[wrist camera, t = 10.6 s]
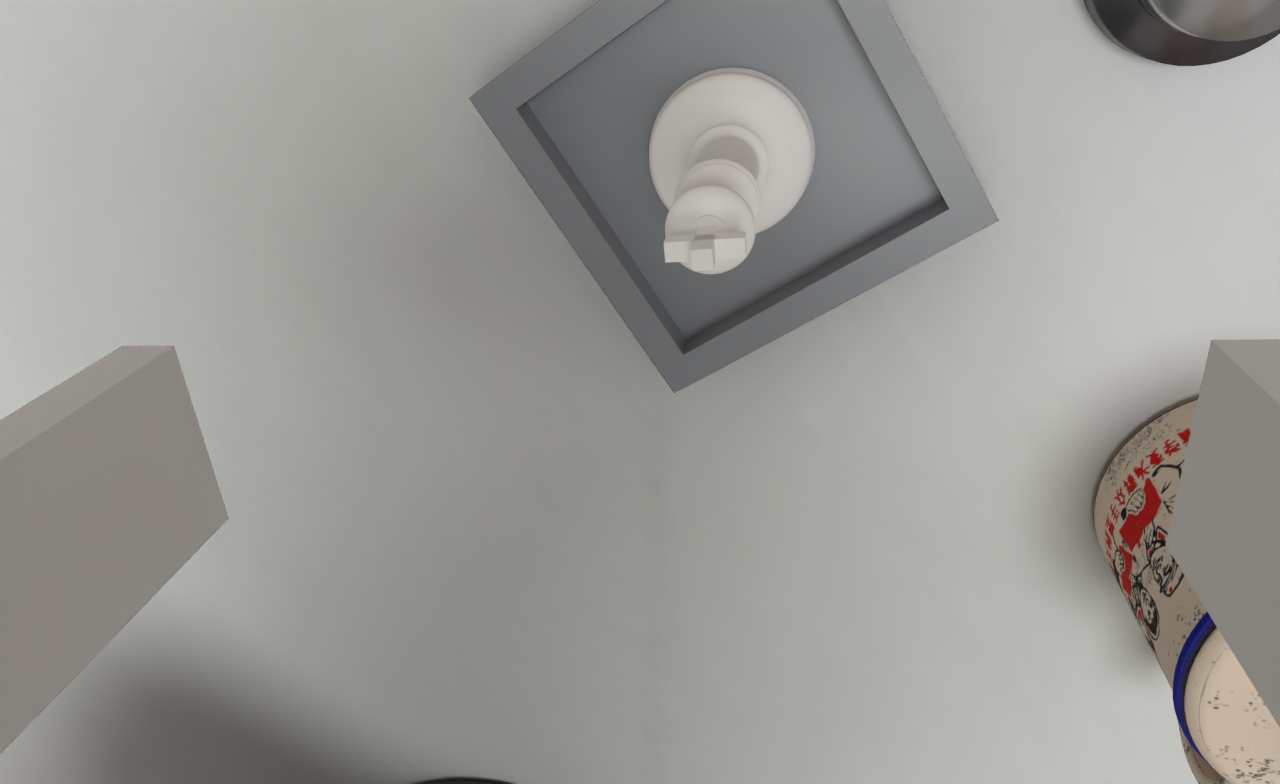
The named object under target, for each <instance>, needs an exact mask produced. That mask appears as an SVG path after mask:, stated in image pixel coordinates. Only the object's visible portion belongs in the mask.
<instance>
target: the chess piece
mask: <svg viewBox="0 0 1280 784" xmlns="http://www.w3.org/2000/svg"><path fill="white" fill-rule="evenodd" d="M814 160H815V140H814V134H813V129H812V126H811V123H810V120H809V117H808V115H807V113H806V111H805V109H804V108H803V106H802V104H801V103H800V101H799V100H798V99H797V98H796V96H795V95H794V94H793V93H792V92H791V91H790V90H789V89H788V88H787V87H786V86H784V85H783V84H782V83H780V82H779V81H778V80H776V79H774V78H773V77H771V76H769V75H767V74H764V73H761V72H759V71H755V70H751V69H746V68H736V67H729V68H720V69H715V70H711V71H708V72H705V73H702V74H700V75H698V76H695V77H694V78H692V79H690V80H689V81H687V82H685V83H684V84H683V85H682V86H680V87H679V88H678V89H677V90H676V91H675V92H674V93H673V94H672V95H671V96H670V97H669V98H668V99H667V101H666V102H665V103H664V105H663V106H662V108H661V110H660V111H659V113H658V115H657V118H656V120H655V122H654V125H653V128H652V132H651V136H650V143H649V166H650V172H651V177H652V180H653V183H654V186H655V189H656V191H657V193H658V195H659V197H660V199H661V200H662V202H663V203H664V205H665V206H666V207H667V209H668V210H669V212H668V215H667V218H666V223H665V236H666V238H665V240H664V253H665V263H669V262H680V263H681V264H682V265H684V266H685V267H687V268H688V269H690V270H692V271H695V272H698V273H703V274H719V273H723V272H726V271H729V270H731V269H733V268H735V267H736V266H738V265H739V264H740V263H741V262H742V261H743V260H744V259H745V258H746V257H747V256H748V254H749V252H750V251H751V249H752V247H753V244H754V241H755V235H756V233H759V232H762V231H764V230H766V229H768V228H770V227H772V226H773V225H775V224H776V223H778V222H779V221H780V220H782V219H783V218H784V217H785V216H786V215H787V214H788V213H789V212H790V211H791V210H792V209H793V208H794V207H795V205H796V204H797V203H798V201H799V200H800V198H801V196H802V195H803V193H804V191H805V189H806V187H807V185H808V183H809V181H810V178H811V175H812V171H813V166H814Z"/></svg>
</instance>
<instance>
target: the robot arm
mask: <svg viewBox="0 0 1280 784" xmlns="http://www.w3.org/2000/svg"><path fill="white" fill-rule="evenodd" d="M228 519H229V518H228V515H227V512H226V508H225V505H224V502H223V499H222V496H221V493H220V490H219V486H218V483H217V480H216V477H215V474H214V471H213V468H212V464H211V461H210V458H209V455H208V452H207V449H206V446H205V442H204V439H203V436H202V433H201V430H200V427H199V424H198V420H197V417H196V414H195V411H194V408H193V405H192V402H191V398H190V395H189V392H188V389H187V386H186V383H185V379H184V376H183V373H182V370H181V367H180V364H179V361H178V357H177V354H176V351H175V348H174V346H122V347H120V348H118V349H117V350H115V351H113V352H112V353H110V354H108V355H107V356H105V357H104V358H102V359H100V360H99V361H97V362H95V363H94V364H92V365H90V366H89V367H87V368H85V369H84V370H82V371H81V372H79V373H77V374H76V375H74V376H72V377H71V378H69V379H67V380H66V381H64V382H62V383H61V384H59V385H58V386H56V387H54V388H53V389H51V390H49V391H48V392H46V393H44V394H43V395H41V396H39V397H38V398H36V399H35V400H33V401H31V402H30V403H28V404H26V405H25V406H23V407H21V408H20V409H18V410H16V411H15V412H13V413H12V414H10V415H8V416H7V417H5V418H3V419H2V420H0V754H1V753H2V752H3V751H4V750H5V749H6V748H7V747H8V746H9V745H10V744H11V743H12V742H13V741H14V740H15V739H16V737H17V736H18V735H19V734H20V733H21V732H22V731H23V730H24V729H25V728H26V727H27V726H28V725H29V724H30V723H31V722H32V721H33V720H34V719H35V718H36V717H37V716H38V715H39V714H40V713H41V712H42V711H43V710H44V709H45V708H46V707H47V705H48V704H49V703H50V702H51V701H52V700H53V699H54V698H55V697H56V696H57V695H58V694H59V693H60V692H61V691H62V690H63V689H64V688H65V687H66V686H67V685H68V684H69V683H70V682H71V681H72V680H73V679H74V678H75V677H76V676H77V675H78V673H79V672H80V671H81V670H82V669H83V668H84V667H85V666H86V665H87V664H88V663H89V662H90V661H91V660H92V659H93V658H94V657H95V656H96V655H97V654H98V653H99V652H100V651H101V650H102V649H103V648H104V647H105V646H106V645H107V644H108V642H109V641H110V640H111V639H112V638H113V637H114V636H115V635H116V634H117V633H118V632H119V631H120V630H121V629H122V628H123V627H124V626H125V625H126V624H127V623H128V622H129V621H130V620H131V619H132V618H133V617H134V616H135V615H136V614H137V613H138V612H139V610H140V609H141V608H142V607H143V606H144V605H145V604H146V603H147V602H148V601H149V600H150V599H151V598H152V597H153V596H154V595H155V594H156V593H157V592H158V591H159V590H160V589H161V588H162V587H163V586H164V585H165V584H166V583H167V582H168V581H169V580H170V578H171V577H172V576H173V575H174V574H175V573H176V572H177V571H178V570H179V569H180V568H181V567H182V566H183V565H184V564H185V563H186V562H187V561H188V560H189V559H190V558H191V557H192V556H193V555H194V554H195V553H196V552H197V551H198V550H199V549H200V547H201V546H202V545H203V544H204V543H205V542H206V541H207V540H208V539H209V538H210V537H211V536H212V535H213V534H214V533H215V532H216V531H217V530H218V529H219V528H220V527H221V526H222V525H223V524H224V523H225V522H226V521H227V520H228ZM1165 545H1166V546H1167V548H1168V550H1169V551H1170V553H1171V554H1172V556H1173V558H1174V559H1175V561H1176V562H1177V564H1178V566H1179V567H1180V569H1181V570H1182V572H1183V574H1184V575H1185V577H1186V578H1187V580H1188V582H1189V583H1190V585H1191V586H1192V588H1193V590H1194V591H1195V593H1196V594H1197V596H1198V598H1199V599H1200V601H1201V602H1202V604H1203V606H1204V607H1205V609H1206V610H1207V612H1208V614H1209V615H1210V617H1211V618H1212V620H1213V622H1214V623H1215V625H1216V626H1217V628H1218V630H1219V631H1220V633H1221V634H1222V636H1223V638H1224V639H1225V641H1226V642H1227V644H1228V646H1229V647H1230V649H1231V650H1232V652H1233V654H1234V655H1235V657H1236V658H1237V660H1238V662H1239V663H1240V665H1241V666H1242V668H1243V670H1244V671H1245V673H1246V674H1247V676H1248V678H1249V679H1250V681H1251V682H1252V684H1253V686H1254V687H1255V689H1256V690H1257V692H1258V694H1259V695H1260V697H1261V698H1262V700H1263V702H1264V703H1265V705H1266V706H1267V708H1268V710H1269V711H1270V713H1271V714H1272V716H1273V718H1274V719H1275V721H1276V722H1277V724H1278V726H1279V727H1280V340H1211V344H1210V348H1209V353H1208V357H1207V362H1206V366H1205V371H1204V375H1203V380H1202V384H1201V388H1200V393H1199V397H1198V402H1197V406H1196V411H1195V415H1194V420H1193V424H1192V429H1191V433H1190V437H1189V442H1188V446H1187V451H1186V455H1185V460H1184V464H1183V469H1182V473H1181V477H1180V482H1179V486H1178V491H1177V495H1176V500H1175V504H1174V509H1173V513H1172V518H1171V522H1170V526H1169V531H1168V535H1167V540H1166V544H1165ZM428 784H493V783H486V782H477V781H443V782H434V783H428Z"/></svg>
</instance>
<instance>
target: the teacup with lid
mask: <svg viewBox="0 0 1280 784" xmlns="http://www.w3.org/2000/svg"><path fill="white" fill-rule="evenodd" d="M1197 402H1198V399H1197V400H1195V401H1192V402H1189V403H1187V404H1184V405H1182V406H1180V407H1178V408H1176V409H1174V410H1171V411H1170V412H1168V413H1166V414H1164V415H1163V416H1161V417H1159V418H1157V419H1156V420H1154V421H1153V422H1152V423H1150V424H1149V425H1147V426H1146V427H1145V428H1143V429H1142V430H1141V431H1140V432H1138V433H1137V434H1136V435H1135V436H1134V437H1133V438H1132V439H1131V440H1130V441H1129V442H1127V444H1126V445H1125V446H1124V447H1123V448H1122V449H1121V450H1120V451H1119V453H1118V454H1117V455H1116V457H1115V458H1114V459H1113V461H1112V462H1111V464H1110V466H1109V467H1108V469H1107V471H1106V472H1105V475H1104V477H1103V479H1102V481H1101V484H1100V487H1099V490H1098V493H1097V497H1096V502H1095V511H1094V522H1095V530H1096V535H1097V539H1098V542H1099V545H1100V548H1101V550H1102V552H1103V554H1104V556H1105V558H1106V560H1107V562H1108V564H1109V566H1110V568H1111V570H1112V572H1113V574H1114V576H1115V578H1116V580H1117V582H1118V584H1119V586H1120V588H1121V590H1122V592H1123V594H1124V596H1125V598H1126V600H1127V602H1128V604H1129V606H1130V608H1131V610H1132V611H1133V613H1134V615H1135V617H1136V619H1137V621H1138V623H1139V625H1140V627H1141V629H1142V631H1143V633H1144V635H1145V637H1146V639H1147V641H1148V643H1149V645H1150V647H1151V649H1152V651H1153V653H1154V655H1155V657H1156V659H1157V661H1158V663H1159V665H1160V667H1161V669H1162V671H1163V673H1164V674H1165V676H1166V678H1167V680H1168V682H1169V684H1170V686H1171V688H1172V690H1173V702H1174V708H1175V712H1176V715H1177V719H1178V723H1179V730H1180V736H1181V740H1182V745H1183V748H1184V752H1185V755H1186V758H1187V761H1188V763H1189V766H1190V768H1191V770H1192V773H1193V775H1194V776H1195V778H1196V780H1197V782H1198V783H1199V784H1280V727H1279V726H1278V724H1277V722H1276V721H1275V719H1274V718H1273V716H1272V714H1271V713H1270V711H1269V710H1268V708H1267V706H1266V705H1265V703H1264V702H1263V700H1262V698H1261V697H1260V695H1259V694H1258V692H1257V690H1256V689H1255V687H1254V686H1253V684H1252V682H1251V681H1250V679H1249V678H1248V676H1247V674H1246V673H1245V671H1244V670H1243V668H1242V666H1241V665H1240V663H1239V662H1238V660H1237V658H1236V657H1235V655H1234V654H1233V652H1232V650H1231V649H1230V647H1229V646H1228V644H1227V642H1226V641H1225V639H1224V638H1223V636H1222V634H1221V633H1220V631H1219V630H1218V628H1217V626H1216V625H1215V623H1214V622H1213V620H1212V618H1211V617H1210V615H1209V614H1208V612H1207V610H1206V609H1205V607H1204V606H1203V604H1202V602H1201V601H1200V599H1199V598H1198V596H1197V594H1196V593H1195V591H1194V590H1193V588H1192V586H1191V585H1190V583H1189V582H1188V580H1187V578H1186V577H1185V575H1184V574H1183V572H1182V570H1181V569H1180V567H1179V566H1178V564H1177V562H1176V561H1175V559H1174V558H1173V556H1172V554H1171V553H1170V551H1169V550H1168V548H1167V546H1166V545H1165V544H1166V540H1167V535H1168V531H1169V526H1170V522H1171V518H1172V513H1173V509H1174V504H1175V500H1176V495H1177V491H1178V486H1179V482H1180V477H1181V473H1182V469H1183V464H1184V460H1185V455H1186V451H1187V446H1188V442H1189V437H1190V433H1191V429H1192V424H1193V420H1194V415H1195V411H1196V406H1197Z"/></svg>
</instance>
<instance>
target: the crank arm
mask: <svg viewBox="0 0 1280 784" xmlns="http://www.w3.org/2000/svg"><path fill="white" fill-rule="evenodd" d="M1138 2H1139V3H1140V5H1141V6H1142V8H1143V9H1144V10H1145V11H1146V13H1147V14H1148V15H1149V16H1150V17H1151V18H1153V19H1154V20H1155V21H1157V22H1158V23H1159V24H1161V25H1163V26H1165V27H1167V28H1168V29H1171V30H1174V31H1177V32H1180V33H1184V34H1188V35H1192V36H1196V37H1200V38H1204V39H1209V40H1215V41H1242V40H1247V39H1252V38H1256V37H1260V36H1263V35H1266V34H1269V33H1271V32H1273V31H1276V30H1278V29H1280V0H1138Z"/></svg>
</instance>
